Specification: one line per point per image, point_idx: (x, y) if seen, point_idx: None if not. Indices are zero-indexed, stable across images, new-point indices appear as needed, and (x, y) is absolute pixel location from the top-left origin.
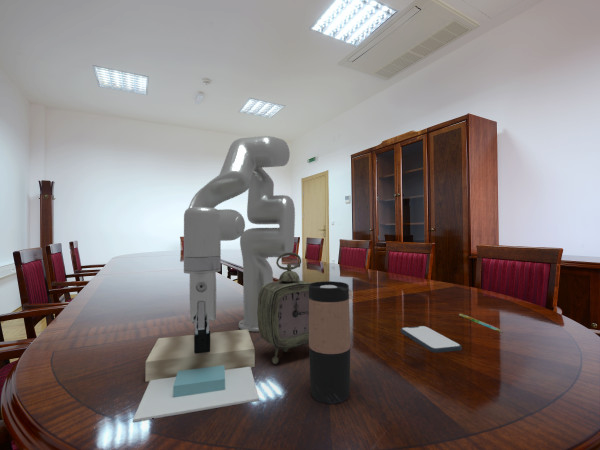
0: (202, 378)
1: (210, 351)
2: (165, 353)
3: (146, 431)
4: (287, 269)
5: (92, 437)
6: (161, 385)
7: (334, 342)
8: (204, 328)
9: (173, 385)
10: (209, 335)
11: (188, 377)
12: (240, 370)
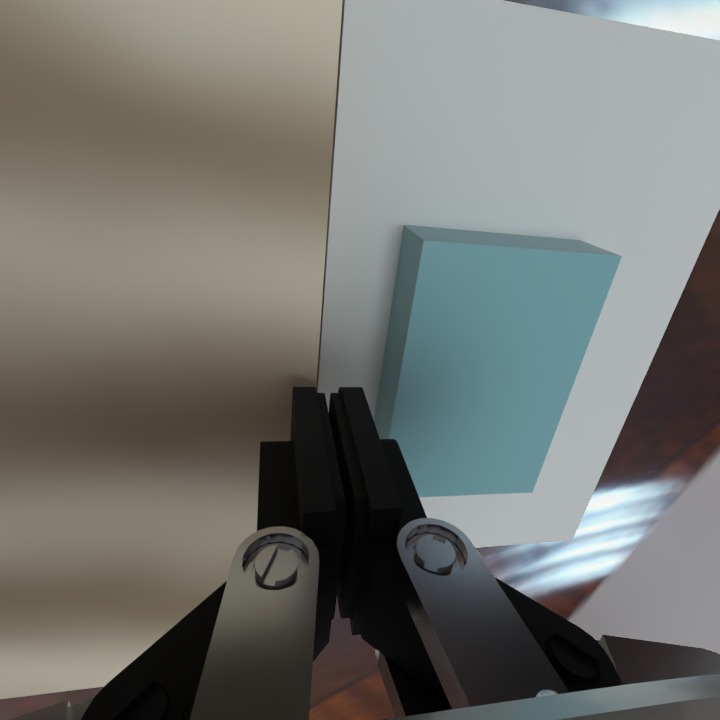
0: (535, 379)
1: (260, 363)
2: None
3: (637, 491)
4: None
5: (573, 591)
6: None
7: None
8: (710, 664)
9: None
10: (392, 491)
11: (484, 444)
12: (387, 90)
